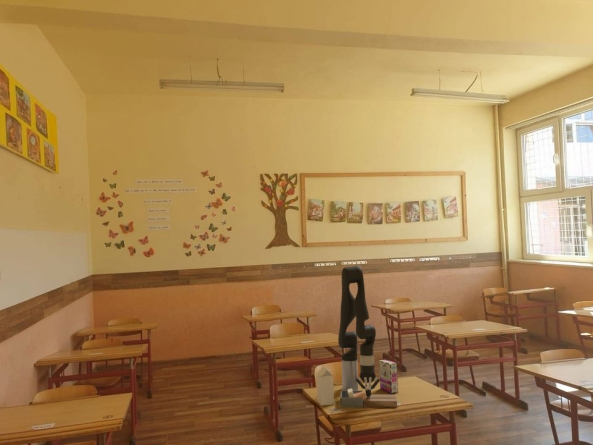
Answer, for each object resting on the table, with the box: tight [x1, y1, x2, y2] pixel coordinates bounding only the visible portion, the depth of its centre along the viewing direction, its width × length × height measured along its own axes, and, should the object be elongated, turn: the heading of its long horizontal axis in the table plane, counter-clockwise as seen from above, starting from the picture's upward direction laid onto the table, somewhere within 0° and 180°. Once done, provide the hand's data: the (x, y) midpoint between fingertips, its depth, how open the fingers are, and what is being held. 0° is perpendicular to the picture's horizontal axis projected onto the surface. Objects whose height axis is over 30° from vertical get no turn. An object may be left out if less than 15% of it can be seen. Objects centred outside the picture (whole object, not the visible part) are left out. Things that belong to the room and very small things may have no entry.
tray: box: [339, 389, 364, 409], centre depth 244 cm, size 13×12×5 cm
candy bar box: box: [378, 359, 399, 395], centre depth 264 cm, size 11×5×16 cm, turn 25°
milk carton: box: [316, 365, 335, 407], centre depth 245 cm, size 7×7×19 cm
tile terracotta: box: [354, 390, 366, 400], centre depth 242 cm, size 6×6×2 cm
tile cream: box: [348, 388, 354, 398], centre depth 243 cm, size 6×6×2 cm
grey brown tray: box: [363, 393, 398, 408], centre depth 242 cm, size 11×17×3 cm, turn 83°
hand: (368, 396), depth 243 cm, fingers closed
